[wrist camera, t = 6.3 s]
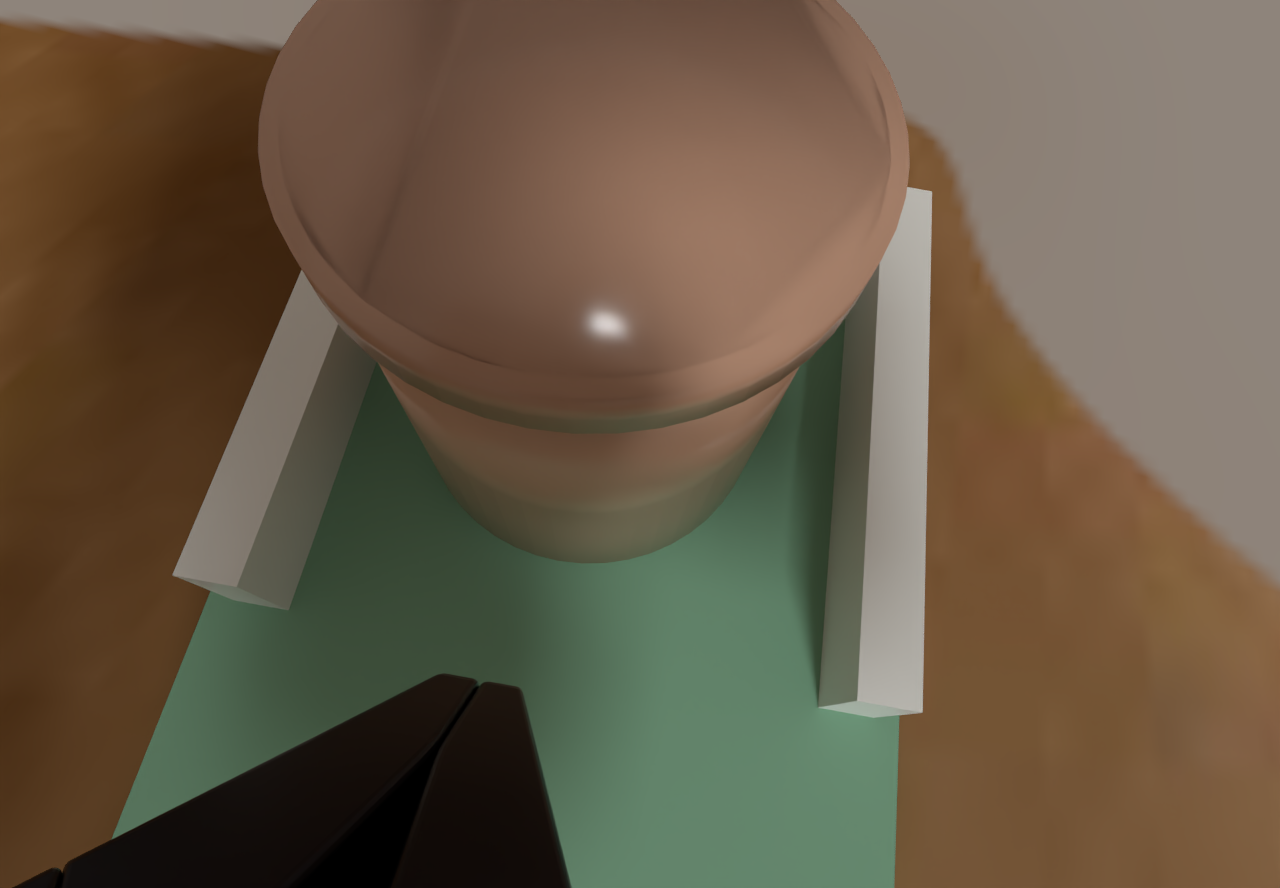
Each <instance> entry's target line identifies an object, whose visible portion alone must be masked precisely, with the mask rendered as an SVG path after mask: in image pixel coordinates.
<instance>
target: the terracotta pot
mask: <svg viewBox="0 0 1280 888" xmlns="http://www.w3.org/2000/svg"><path fill="white" fill-rule="evenodd" d="M258 156H259V163H260V170H261V177H262V184H263V188H264V191H265V194H266V197H267V200H268V203H269V206H270V209H271V212H272V215H273V218H274V221H275V223H276V224H277V226H278V228H279V230H280V232H281V234H282V236H283V238H284V239H285V241H286V243H287V245H288V247H289V249H290V251H291V253H292V254H293V256H294V258H295V259H296V261H297V263H298V264H299V266H300V267H301V269H302V271H303V272H304V274H305V276H306V277H307V279H308V281H309V282H310V284H311V286H312V287H313V289H314V291H315V292H316V294H317V296H318V297H319V299H320V300H321V302H322V303H323V305H324V306H325V307H326V308H327V310H328V311H329V312H330V314H331V315H332V316H333V318H334V319H335V320H336V322H337V323H338V324H339V326H340V327H341V328H342V329H343V331H344V332H345V333H346V334H347V335H348V336H349V337H350V338H351V339H352V340H354V341H355V342H356V343H357V344H358V345H359V346H360V347H361V348H362V349H363V350H364V351H365V352H366V353H367V354H368V355H369V356H370V357H371V358H372V359H374V360H375V361H376V362H378V364H379V366H380V367H381V369H382V371H383V373H384V375H385V376H386V378H387V380H388V382H389V384H390V385H391V387H392V389H393V391H394V393H395V394H396V396H397V398H398V400H399V402H400V403H401V405H402V407H403V409H404V411H405V412H406V414H407V416H408V418H409V420H410V421H411V423H412V425H413V427H414V429H415V430H416V432H417V434H418V436H419V438H420V439H421V441H422V443H423V445H424V447H425V448H426V450H427V452H428V454H429V456H430V457H431V459H432V461H433V463H434V465H435V466H436V468H437V470H438V472H439V474H440V475H441V477H442V479H443V481H444V483H445V484H446V486H447V488H448V490H449V491H450V493H451V494H452V495H453V496H454V498H455V499H456V500H457V502H458V503H459V504H460V506H461V507H462V508H463V509H464V510H465V511H466V512H467V513H468V514H469V515H470V516H471V517H472V518H473V519H474V520H475V521H476V522H477V523H478V524H480V525H481V526H482V527H484V528H485V529H486V530H488V531H489V532H490V533H492V534H493V535H494V536H496V537H498V538H500V539H501V540H503V541H505V542H507V543H509V544H510V545H512V546H514V547H516V548H519V549H521V550H524V551H526V552H529V553H532V554H534V555H537V556H541V557H545V558H549V559H553V560H557V561H565V562H573V563H609V562H616V561H622V560H629V559H632V558H636V557H639V556H643V555H646V554H650V553H652V552H655V551H657V550H659V549H662V548H664V547H666V546H669V545H671V544H673V543H674V542H676V541H678V540H679V539H681V538H683V537H684V536H686V535H688V534H689V533H691V532H692V531H693V530H694V529H696V528H697V527H698V526H699V525H701V524H702V523H703V522H704V521H706V520H707V519H708V518H709V517H710V516H711V515H712V514H713V513H714V511H715V510H716V509H717V508H718V507H719V506H720V505H721V504H722V503H723V501H724V500H725V498H726V497H727V496H728V494H729V493H730V491H731V490H732V489H733V487H734V485H735V483H736V482H737V480H738V478H739V476H740V474H741V473H742V471H743V469H744V467H745V465H746V463H747V462H748V460H749V458H750V456H751V454H752V452H753V451H754V449H755V447H756V445H757V443H758V442H759V440H760V438H761V436H762V434H763V432H764V431H765V429H766V427H767V425H768V423H769V421H770V420H771V418H772V416H773V414H774V412H775V411H776V409H777V407H778V405H779V403H780V401H781V400H782V398H783V396H784V394H785V392H786V390H787V389H788V387H789V385H790V383H791V381H792V380H793V378H794V376H795V374H796V372H797V370H798V369H799V367H800V366H801V365H802V364H803V363H805V362H806V361H807V360H809V359H810V358H811V357H812V356H813V354H814V353H815V352H816V351H817V350H818V349H819V348H820V347H821V346H822V345H823V344H824V343H825V342H826V341H827V340H828V339H829V338H830V337H831V336H832V335H833V334H834V333H835V332H836V330H837V329H838V327H839V326H840V325H841V323H842V322H843V320H844V319H845V318H846V316H847V315H848V314H849V312H850V311H851V309H852V308H853V307H854V305H855V303H856V302H857V300H858V298H859V297H860V295H861V293H862V292H863V290H864V288H865V287H866V285H867V283H868V282H869V280H870V278H871V277H872V275H873V273H874V272H875V270H876V268H877V266H878V265H879V263H880V261H881V260H882V258H883V256H884V253H885V251H886V249H887V247H888V245H889V243H890V241H891V239H892V237H893V235H894V233H895V231H896V229H897V226H898V222H899V219H900V216H901V212H902V209H903V206H904V202H905V199H906V193H907V184H908V176H909V167H910V161H909V143H908V131H907V127H906V122H905V118H904V113H903V109H902V104H901V101H900V99H899V96H898V94H897V91H896V88H895V86H894V83H893V80H892V78H891V75H890V73H889V71H888V70H887V68H886V66H885V64H884V62H883V61H882V59H881V57H880V55H879V54H878V52H877V50H876V49H875V47H874V45H873V44H872V42H871V41H870V40H869V39H868V37H867V36H866V34H865V33H864V32H863V30H862V29H861V28H860V26H859V25H858V24H857V22H856V21H855V20H854V19H853V18H852V17H851V16H850V15H849V14H848V13H847V12H846V11H845V10H844V9H843V8H842V6H841V5H840V4H839V3H838V2H837V1H836V0H317V1H316V3H315V4H314V5H313V6H312V7H311V9H310V10H309V11H308V12H307V13H306V15H305V16H304V17H303V18H302V20H301V21H300V22H299V23H298V24H297V26H296V27H295V28H294V30H293V32H292V33H291V35H290V37H289V38H288V40H287V42H286V43H285V45H284V47H283V48H282V50H281V52H280V53H279V55H278V58H277V60H276V62H275V65H274V67H273V70H272V72H271V75H270V77H269V80H268V82H267V85H266V89H265V93H264V98H263V102H262V107H261V112H260V116H259V135H258Z"/></svg>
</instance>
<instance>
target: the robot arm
mask: <svg viewBox="0 0 1280 888" xmlns="http://www.w3.org/2000/svg"><path fill="white" fill-rule="evenodd" d="M13 888H572V886H571V882H570V878H569V874H568V870H567V866H566V862H565V858H564V854H563V850H562V846H561V842H560V838H559V834H558V830H557V826H556V822H555V818H554V814H553V810H552V806H551V802H550V798H549V794H548V790H547V786H546V782H545V778H544V774H543V770H542V766H541V762H540V758H539V754H538V750H537V746H536V742H535V738H534V733H533V729H532V725H531V721H530V717H529V713H528V709H527V705H526V701H525V697H524V694H523V691H522V689H521V688H519V687H517V686H512V685H506V684H501V683H495V682H490V681H488V682H483V683H482V684H481V685H479V682H478V681H477V680H476V679H473V678H468V677H462V676H457V675H452V674H446V673H441V674H438V675H435V676H433V677H431V678H429V679H427V680H425V681H423V682H421V683H419V684H417V685H415V686H413V687H411V688H409V689H407V690H405V691H403V692H401V693H399V694H398V695H396V696H394V697H392V698H390V699H388V700H386V701H384V702H382V703H380V704H378V705H376V706H374V707H372V708H370V709H368V710H366V711H364V712H362V713H360V714H358V715H356V716H354V717H352V718H350V719H348V720H346V721H344V722H342V723H340V724H338V725H336V726H334V727H332V728H330V729H328V730H327V731H325V732H323V733H321V734H319V735H317V736H315V737H313V738H311V739H309V740H307V741H305V742H303V743H301V744H299V745H297V746H295V747H293V748H291V749H289V750H287V751H285V752H283V753H281V754H279V755H277V756H275V757H273V758H271V759H269V760H267V761H265V762H263V763H261V764H259V765H258V766H256V767H254V768H252V769H250V770H248V771H246V772H244V773H242V774H240V775H238V776H236V777H234V778H232V779H230V780H228V781H226V782H224V783H222V784H220V785H218V786H216V787H214V788H212V789H210V790H208V791H206V792H204V793H202V794H200V795H198V796H196V797H194V798H192V799H190V800H189V801H187V802H185V803H183V804H181V805H179V806H177V807H175V808H173V809H171V810H169V811H167V812H165V813H163V814H161V815H159V816H157V817H155V818H153V819H151V820H149V821H147V822H145V823H143V824H141V825H139V826H137V827H135V828H133V829H131V830H129V831H127V832H125V833H123V834H121V835H119V836H118V837H116V838H114V839H112V840H110V841H108V842H106V843H104V844H102V845H100V846H98V847H96V848H94V849H92V850H90V851H88V852H86V853H84V854H82V855H80V856H78V857H76V858H74V859H72V860H70V861H69V862H68V863H67V864H66V865H65V867H64V869H63V873H62V872H61V870H60V869H58V868H51V869H48V870H46V871H44V872H42V873H40V874H38V875H36V876H34V877H33V878H31V879H29V880H27V881H25V882H23V883H21V884H19V885H17V886H15V887H13Z"/></svg>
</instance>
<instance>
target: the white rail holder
mask: <svg viewBox="0 0 1280 888" xmlns="http://www.w3.org/2000/svg"><path fill="white" fill-rule="evenodd" d="M931 218H932V191H926V190H921V189H915V188H909V187H907V193H906V199H905V202H904V206H903V209H902V212H901V216H900V219H899V222H898V226H897V229H896V231H895V233H894V235H893V237H892V239H891V241H890V243H889V245H888V247H887V249H886V251H885V253H884V256H883V258H882V260H881V261H880V263H879V265H878V266H877V268H876V270H875V272H874V273H873V275H872V277H871V278H870V280H869V282H868V283H867V285H866V287H865V288H864V290H863V292H862V293H861V295H860V297H859V298H858V300H857V302H856V303H855V305H854V307H853V308H852V309H851V311H850V312H849V314H848V315H847V316H846V318H845V333H844V347H843V361H842V375H841V389H840V403H839V417H838V432H837V446H836V460H835V474H834V488H833V502H832V516H831V530H830V545H829V559H828V573H827V587H826V601H825V615H824V629H823V644H822V658H821V672H820V686H819V700H818V708H823V709H828V710H834V711H839V712H845V713H850V714H856V715H861V716H867V717H872V718H876V717H886V716H896V715H906V714H915V713H922V712H923V658H924V603H925V548H926V493H927V438H928V383H929V328H930V273H931ZM375 365H376V361H375V360H374V359H372V358H371V357H370V356H369V355H368V354H367V353H366V352H365V351H364V350H363V349H362V348H361V347H360V346H359V345H358V344H357V343H356V342H355V341H354V340H352V339H351V338H350V337H349V336H348V335H347V334H346V333H345V332H344V331H343V329H342V328H341V327H340V326H339V324H338V323H337V322H336V320H335V319H334V318H333V316H332V315H331V314H330V312H329V311H328V310H327V308H326V307H325V306H324V305H323V303H322V302H321V300H320V299H319V297H318V296H317V294H316V292H315V291H314V289H313V287H312V286H311V284H310V282H309V281H308V279H307V277H306V276H305V274H304V272H303V271H302V270H301V272H300V275H299V277H298V279H297V282H296V284H295V286H294V289H293V291H292V293H291V296H290V298H289V301H288V303H287V305H286V308H285V310H284V312H283V315H282V317H281V319H280V322H279V324H278V327H277V329H276V331H275V334H274V336H273V338H272V341H271V343H270V345H269V348H268V350H267V353H266V355H265V357H264V360H263V362H262V364H261V367H260V369H259V371H258V374H257V376H256V379H255V381H254V383H253V386H252V388H251V390H250V393H249V395H248V398H247V400H246V402H245V405H244V407H243V409H242V412H241V414H240V416H239V419H238V421H237V424H236V426H235V428H234V431H233V433H232V435H231V438H230V440H229V442H228V445H227V447H226V450H225V452H224V454H223V457H222V459H221V461H220V464H219V466H218V468H217V471H216V473H215V476H214V478H213V480H212V483H211V485H210V487H209V490H208V492H207V494H206V497H205V499H204V502H203V504H202V506H201V509H200V511H199V513H198V516H197V518H196V520H195V523H194V525H193V528H192V530H191V532H190V535H189V537H188V539H187V542H186V544H185V546H184V549H183V551H182V554H181V556H180V558H179V561H178V563H177V565H176V568H175V570H174V572H173V576H176V577H178V578H180V579H183V580H185V581H188V582H190V583H193V584H195V585H198V586H200V587H202V588H205V589H207V590H210V591H212V592H215V593H217V594H220V595H222V596H224V597H227V598H229V599H232V600H235V601H240V602H246V603H251V604H256V605H262V606H267V607H273V608H278V609H284V610H289V608H290V605H291V602H292V600H293V597H294V594H295V591H296V588H297V585H298V583H299V580H300V577H301V574H302V571H303V568H304V566H305V563H306V560H307V557H308V554H309V551H310V549H311V546H312V543H313V540H314V537H315V535H316V532H317V529H318V526H319V523H320V520H321V518H322V515H323V512H324V509H325V506H326V503H327V501H328V498H329V495H330V492H331V489H332V486H333V484H334V481H335V478H336V475H337V472H338V469H339V467H340V464H341V461H342V458H343V455H344V453H345V450H346V447H347V444H348V441H349V438H350V436H351V433H352V430H353V427H354V424H355V421H356V419H357V416H358V413H359V410H360V407H361V404H362V402H363V399H364V396H365V393H366V390H367V388H368V385H369V382H370V379H371V376H372V373H373V371H374V368H375Z"/></svg>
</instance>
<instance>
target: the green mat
mask: <svg viewBox="0 0 1280 888" xmlns="http://www.w3.org/2000/svg"><path fill="white" fill-rule="evenodd" d="M844 333H845V319H844V320H843V322H842V323H841V325H840V326H839V327H838V329H837V330H836V332H835V333H834V334H833V335H832V336H831V337H830V338H829V339H828V340H827V341H826V342H825V343H824V344H823V345H822V346H821V347H820V348H819V349H818V350H817V351H816V352H815V353H814V354H813V356H812V357H811V358H810V359H809V360H807V361H806V362H805V363H803V364H802V365H801V366H800V367H799V369H798V370H797V372H796V374H795V376H794V378H793V380H792V381H791V383H790V385H789V387H788V389H787V390H786V392H785V394H784V396H783V398H782V400H781V401H780V403H779V405H778V407H777V409H776V411H775V412H774V414H773V416H772V418H771V420H770V421H769V423H768V425H767V427H766V429H765V431H764V432H763V434H762V436H761V438H760V440H759V442H758V443H757V445H756V447H755V449H754V451H753V452H752V454H751V456H750V458H749V460H748V462H747V463H746V465H745V467H744V469H743V471H742V473H741V474H740V476H739V478H738V480H737V482H736V483H735V485H734V487H733V489H732V490H731V491H730V493H729V494H728V496H727V497H726V498H725V500H724V501H723V503H722V504H721V505H720V506H719V507H718V508H717V509H716V510H715V511H714V513H713V514H712V515H711V516H710V517H709V518H708V519H707V520H706V521H704V522H703V523H702V524H701V525H699V526H698V527H697V528H696V529H694V530H693V531H692V532H691V533H689V534H688V535H686V536H684V537H683V538H681V539H679V540H678V541H676V542H674V543H673V544H671V545H669V546H666V547H664V548H662V549H659V550H657V551H655V552H652V553H650V554H646V555H643V556H639V557H636V558H632V559H629V560H622V561H616V562H609V563H573V562H565V561H557V560H553V559H549V558H545V557H541V556H537V555H534V554H532V553H529V552H526V551H524V550H521V549H519V548H516V547H514V546H512V545H510V544H509V543H507V542H505V541H503V540H501V539H500V538H498V537H496V536H494V535H493V534H492V533H490V532H489V531H488V530H486V529H485V528H484V527H482V526H481V525H480V524H478V523H477V522H476V521H475V520H474V519H473V518H472V517H471V516H470V515H469V514H468V513H467V512H466V511H465V510H464V509H463V508H462V507H461V506H460V504H459V503H458V502H457V500H456V499H455V498H454V496H453V495H452V494H451V493H450V491H449V490H448V488H447V486H446V484H445V483H444V481H443V479H442V477H441V475H440V474H439V472H438V470H437V468H436V466H435V465H434V463H433V461H432V459H431V457H430V456H429V454H428V452H427V450H426V448H425V447H424V445H423V443H422V441H421V439H420V438H419V436H418V434H417V432H416V430H415V429H414V427H413V425H412V423H411V421H410V420H409V418H408V416H407V414H406V412H405V411H404V409H403V407H402V405H401V403H400V402H399V400H398V398H397V396H396V394H395V393H394V391H393V389H392V387H391V385H390V384H389V382H388V380H387V378H386V376H385V375H384V373H383V371H382V369H381V367H380V366H379V364H378V362H376V365H375V368H374V371H373V373H372V376H371V379H370V382H369V385H368V388H367V390H366V393H365V396H364V399H363V402H362V404H361V407H360V410H359V413H358V416H357V419H356V421H355V424H354V427H353V430H352V433H351V436H350V438H349V441H348V444H347V447H346V450H345V453H344V455H343V458H342V461H341V464H340V467H339V469H338V472H337V475H336V478H335V481H334V484H333V486H332V489H331V492H330V495H329V498H328V501H327V503H326V506H325V509H324V512H323V515H322V518H321V520H320V523H319V526H318V529H317V532H316V535H315V537H314V540H313V543H312V546H311V549H310V551H309V554H308V557H307V560H306V563H305V566H304V568H303V571H302V574H301V577H300V580H299V583H298V585H297V588H296V591H295V594H294V597H293V600H292V602H291V605H290V608H289V610H284V609H278V608H273V607H267V606H262V605H256V604H251V603H246V602H240V601H235V600H232V599H229V598H227V597H224V596H222V595H220V594H217V593H215V592H212V591H210V594H209V596H208V599H207V601H206V604H205V606H204V609H203V611H202V614H201V616H200V619H199V621H198V624H197V626H196V629H195V631H194V634H193V636H192V639H191V641H190V644H189V646H188V649H187V651H186V654H185V656H184V659H183V661H182V664H181V666H180V669H179V671H178V674H177V676H176V679H175V681H174V684H173V686H172V689H171V691H170V694H169V696H168V699H167V701H166V704H165V706H164V709H163V711H162V714H161V716H160V719H159V721H158V724H157V726H156V729H155V731H154V734H153V736H152V739H151V741H150V744H149V746H148V749H147V751H146V754H145V757H144V759H143V762H142V764H141V767H140V769H139V772H138V774H137V777H136V779H135V782H134V784H133V787H132V789H131V792H130V794H129V797H128V799H127V802H126V804H125V807H124V809H123V812H122V814H121V817H120V819H119V822H118V824H117V827H116V829H115V832H114V834H113V837H112V839H114V838H116V837H118V836H119V835H121V834H123V833H125V832H127V831H129V830H131V829H133V828H135V827H137V826H139V825H141V824H143V823H145V822H147V821H149V820H151V819H153V818H155V817H157V816H159V815H161V814H163V813H165V812H167V811H169V810H171V809H173V808H175V807H177V806H179V805H181V804H183V803H185V802H187V801H189V800H190V799H192V798H194V797H196V796H198V795H200V794H202V793H204V792H206V791H208V790H210V789H212V788H214V787H216V786H218V785H220V784H222V783H224V782H226V781H228V780H230V779H232V778H234V777H236V776H238V775H240V774H242V773H244V772H246V771H248V770H250V769H252V768H254V767H256V766H258V765H259V764H261V763H263V762H265V761H267V760H269V759H271V758H273V757H275V756H277V755H279V754H281V753H283V752H285V751H287V750H289V749H291V748H293V747H295V746H297V745H299V744H301V743H303V742H305V741H307V740H309V739H311V738H313V737H315V736H317V735H319V734H321V733H323V732H325V731H327V730H328V729H330V728H332V727H334V726H336V725H338V724H340V723H342V722H344V721H346V720H348V719H350V718H352V717H354V716H356V715H358V714H360V713H362V712H364V711H366V710H368V709H370V708H372V707H374V706H376V705H378V704H380V703H382V702H384V701H386V700H388V699H390V698H392V697H394V696H396V695H398V694H399V693H401V692H403V691H405V690H407V689H409V688H411V687H413V686H415V685H417V684H419V683H421V682H423V681H425V680H427V679H429V678H431V677H433V676H435V675H438V674H441V673H446V674H452V675H457V676H462V677H468V678H473V679H476V680H477V681H478V682H479V685H481V684H482V683H483V682H488V681H490V682H495V683H501V684H506V685H512V686H517V687H519V688H521V689H522V691H523V694H524V697H525V701H526V705H527V709H528V713H529V717H530V721H531V725H532V729H533V733H534V738H535V742H536V746H537V750H538V754H539V758H540V762H541V766H542V770H543V774H544V778H545V782H546V786H547V790H548V794H549V798H550V802H551V806H552V810H553V814H554V818H555V822H556V826H557V830H558V834H559V838H560V842H561V846H562V850H563V854H564V858H565V862H566V866H567V870H568V874H569V878H570V882H571V886H572V888H894V876H895V843H896V809H897V776H898V742H899V715H896V716H886V717H876V718H872V717H867V716H861V715H856V714H850V713H845V712H839V711H834V710H828V709H823V708H818V700H819V686H820V672H821V658H822V644H823V629H824V615H825V601H826V587H827V573H828V559H829V545H830V530H831V516H832V502H833V488H834V474H835V460H836V446H837V432H838V417H839V403H840V389H841V375H842V361H843V347H844ZM112 839H111V840H112Z"/></svg>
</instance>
